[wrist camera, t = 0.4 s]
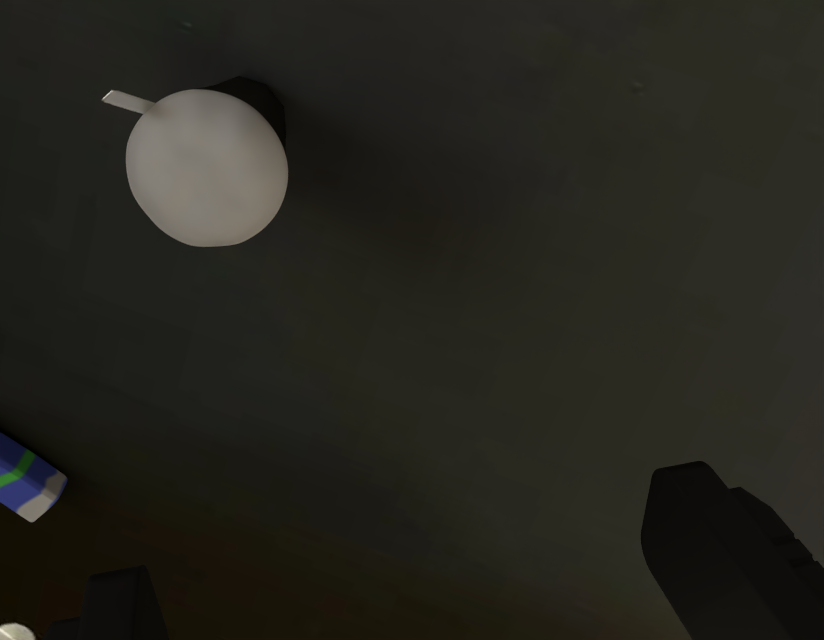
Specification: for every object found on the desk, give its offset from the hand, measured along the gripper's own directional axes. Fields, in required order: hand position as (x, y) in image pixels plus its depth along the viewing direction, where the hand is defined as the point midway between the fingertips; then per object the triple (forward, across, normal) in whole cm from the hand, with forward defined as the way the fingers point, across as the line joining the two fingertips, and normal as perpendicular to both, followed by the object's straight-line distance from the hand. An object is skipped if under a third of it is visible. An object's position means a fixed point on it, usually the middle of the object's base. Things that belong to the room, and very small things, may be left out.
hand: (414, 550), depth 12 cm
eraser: (+22, +15, +13) cm, 30 cm away
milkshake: (+22, +2, -1) cm, 22 cm away
